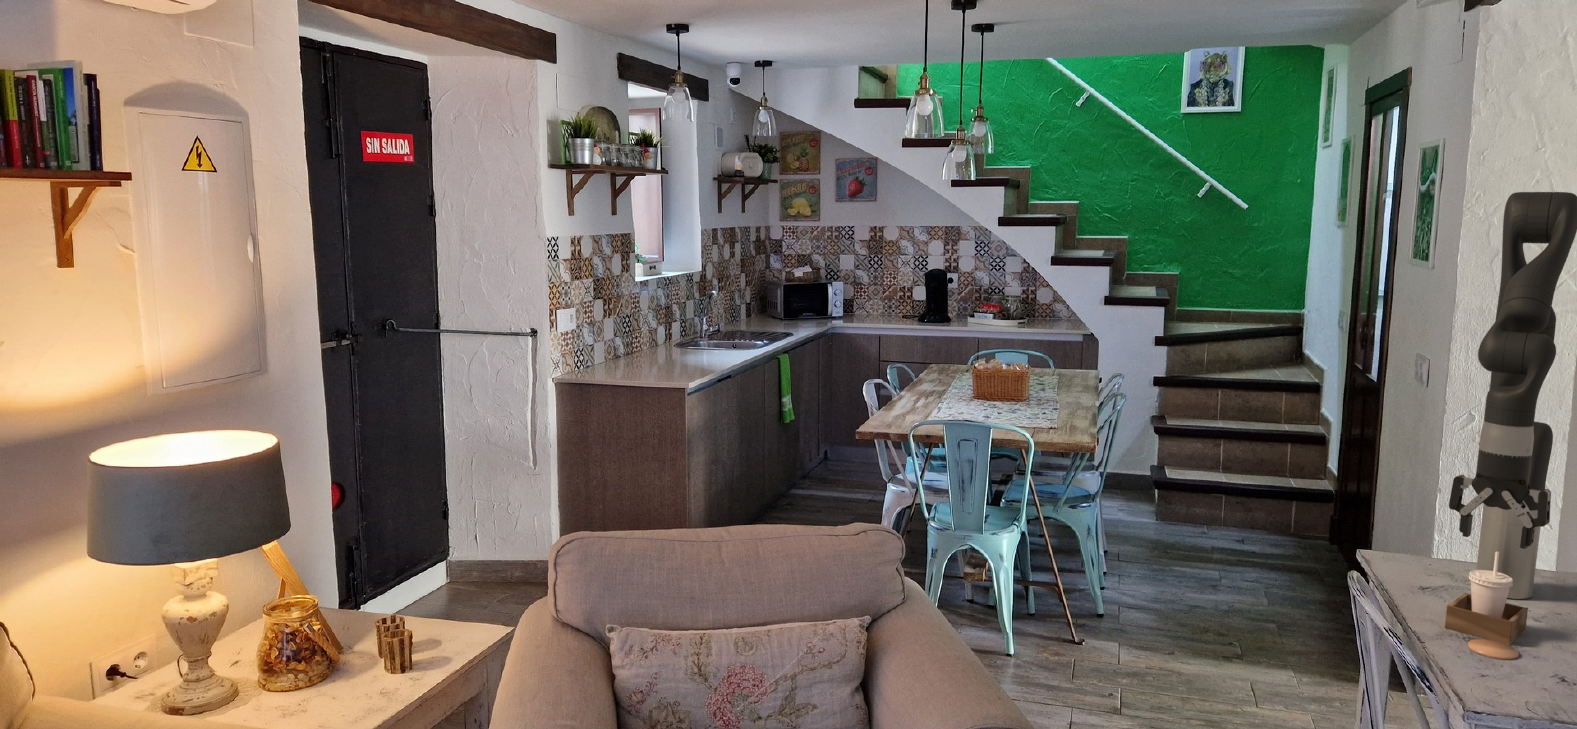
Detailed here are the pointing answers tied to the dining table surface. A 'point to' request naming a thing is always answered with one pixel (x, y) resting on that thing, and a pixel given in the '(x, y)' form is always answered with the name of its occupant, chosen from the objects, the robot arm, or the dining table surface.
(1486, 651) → the coaster
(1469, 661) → the dining table surface
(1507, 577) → the smoothie
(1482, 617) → the caddy
